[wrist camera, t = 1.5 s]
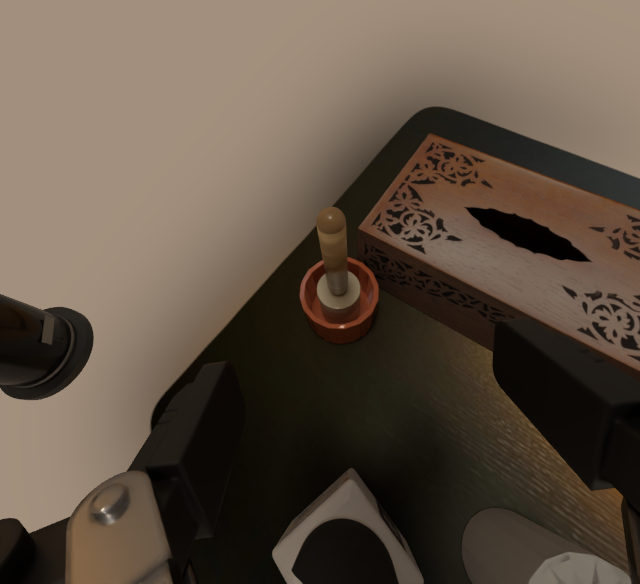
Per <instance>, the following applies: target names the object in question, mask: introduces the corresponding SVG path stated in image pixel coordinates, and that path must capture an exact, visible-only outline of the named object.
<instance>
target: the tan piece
mask: <svg viewBox="0 0 640 584" xmlns="http://www.w3.org/2000/svg"><path fill="white" fill-rule="evenodd" d="M316 224H317V230H318V235H319V241H320V246H321V252H322V257H323V262H324V268H325V273H326V274H324V275H323V276H322V277H321V279H320V280H319V282H318V285H317V295H318V298H319V302H320V306H321V309H322V313H323V316H324V318H325V319H326V321H327V322H328V323H330V324H346V323H349V322H352V321H355V320H356V319H357V317H358V315H359V311H360V291H361V288H360V283H359V281H358V279H357V277H356V276H355V275H354V274H352V273H351V272H349V271H348V264H347V238H346V219H345V216H344V214H343V212H342V211H341V210H339V209H338V208H335V207H327V208H324V209H323V210H322V211H321V212H320V213H319V214H318V216H317V220H316Z"/></svg>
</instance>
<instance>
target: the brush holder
mask: <svg viewBox="0 0 640 584" xmlns="http://www.w3.org/2000/svg"><path fill="white" fill-rule="evenodd" d="M347 264H348V271H349V272H351V273H352V274H354V275H355V276H356V277H357V279H358V281H359V283H360V288H361V291H360V311H359V315H358V317H357V319H356V320H355V321H352V322H349V323H346V324H330V323H328V322H327V321H326V319H325V318H324V316H323V313H322V309H321V306H320V302H319V298H318V295H317V285H318V282H319V280H320V279H321V277H322V276H323V275H324V274H326V273H325V268H324V262H323V260H322V261H320V262H318V263H317V264H316V265H314V266H313V267H312V268H311V269H309V270H308V272H307V274H306V275H305V277H304V279H303V280H302V282H301V288H300V300H301V303H302V306H303V310H304V312H305V314H306V317H307V319H308V321H309V324H310V326H311V327H312V328H313V330H314V331H315V332H316V333H317V334H318V335H319V336H320V337H321V338H323V339H325V340H327V341H329V342H332V343H338V344H344V343H350V342H353V341H356V340H358V339H359V338H361V337H362V336H364V335H365V334H366V333H367V332H368V330H369V329H370V327H371V326H372V323H373V321H374V318H375V314H376V309H377V304H378V291H379V286H378V283H377V281H376V279H375V276H374V274H373V272H372V271H371V270H370V269H369V268H368V267H366V266H365V265H364V264H363V263H362V262H360V261H357V260H355V259H352V258H349V257H347Z"/></svg>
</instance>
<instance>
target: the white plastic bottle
mask: <svg viewBox="0 0 640 584" xmlns="http://www.w3.org/2000/svg"><path fill="white" fill-rule="evenodd" d="M462 558H463V562H464V566H465V569H466V572H467V574H468V577H469V579H470V581H471V582H472V584H631V578H630V577H629V576H628V575H627V574H626V573H625V572H624V571H622V570H621V569H619V568H617V567H615V566H613V565H612V564H610V563H608V562H606V561H604V560H603V559H601V558H599V557H597V556H595V555H593V554H592V553H590V552H588V551H586V550H584V549H582V548H580V547H578V546H577V545H575V544H573V543H571V542H569V541H567V540H565V539H563V538H562V537H560V536H558V535H556V534H554V533H552V532H550V531H549V530H547V529H545V528H543V527H541V526H539V525H537V524H535V523H534V522H532V521H530V520H528V519H526V518H524V517H522V516H520V515H519V514H517V513H515V512H513V511H511V510H507V509H502V508H488V509H485V510H482V511H480V512H478V513H477V514H475V515H474V516H473V517H472V518H471V520H470V521H469V522H468V524H467V526H466V528H465V530H464V533H463V538H462Z"/></svg>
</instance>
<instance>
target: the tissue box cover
mask: <svg viewBox="0 0 640 584" xmlns="http://www.w3.org/2000/svg"><path fill="white" fill-rule="evenodd" d="M357 261H360V262H362V263H363V264H364V265H365V266H366V267H368V268H369V269H370V270H371V271H372V272H373V274H374V276H375V279H376V281H377V283H378V286H379V288H381V289H383V290H384V291H386V292H388V293H390V294H391V295H393V296H395V297H397V298H399V299H400V300H402V301H404V302H406V303H407V304H409V305H411V306H413V307H415V308H416V309H418V310H420V311H422V312H423V313H425V314H427V315H429V316H431V317H432V318H434V319H436V320H438V321H439V322H441V323H443V324H445V325H447V326H448V327H450V328H452V329H454V330H455V331H457V332H459V333H461V334H462V335H464V336H466V337H468V338H470V339H471V340H473V341H475V342H477V343H478V344H480V345H482V346H484V347H486V348H487V349H489V350H491V351H493V346H494V328H495V324H496V323H497V322H498V321H501V320H507V319H514V318H521V317H528V318H530V319H531V320H533V321H534V322H536V323H537V324H539V325H540V326H542V327H543V328H545V329H546V330H548V331H553V332H555V333H558V334H561V335H563V336H566V337H569V338H572V339H573V340H575V341H576V342H578V343H579V344H581V345H583V346H584V347H586V348H587V349H589V351H590V352H594V353H595V354H597V355H598V356H600V357H601V358H603V359H604V361H605V362H609V363H611V364H612V365H614V366H616V367H617V368H619V369H620V370H622V371H623V372H625V373H626V374H628V375H630V376H631V377H633V378H634V379H636V380H637V381H639V382H640V210H638V209H635V208H633V207H630V206H627V205H624V204H622V203H619V202H616V201H614V200H611V199H608V198H605V197H603V196H600V195H597V194H594V193H592V192H589V191H586V190H584V189H581V188H578V187H575V186H573V185H570V184H567V183H564V182H562V181H559V180H556V179H553V178H551V177H548V176H545V175H543V174H540V173H537V172H534V171H532V170H529V169H526V168H523V167H521V166H518V165H515V164H513V163H510V162H507V161H504V160H502V159H499V158H496V157H493V156H491V155H488V154H485V153H482V152H480V151H477V150H474V149H472V148H469V147H466V146H463V145H461V144H458V143H455V142H452V141H450V140H447V139H444V138H442V137H439V136H436V135H433V134H431V133H429V135H428V136H427V137H426V139H425V140H424V141H423V143H422V144H421V145H420V147H419V148H418V149H417V151H416V152H415V153H414V155H413V156H412V157H411V159H410V160H409V161H408V163H407V164H406V165H405V167H404V168H403V169H402V171H401V172H400V173H399V175H398V176H397V177H396V179H395V180H394V181H393V183H392V184H391V185H390V186H389V188H388V189H387V190H386V192H385V193H384V194H383V196H382V197H381V198H380V200H379V201H378V202H377V204H376V205H375V206H374V208H373V209H372V210H371V212H370V213H369V214H368V216H367V217H366V218H365V220H364V221H363V222H362V224H361V225H360V226H359V228H358V251H357Z"/></svg>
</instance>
